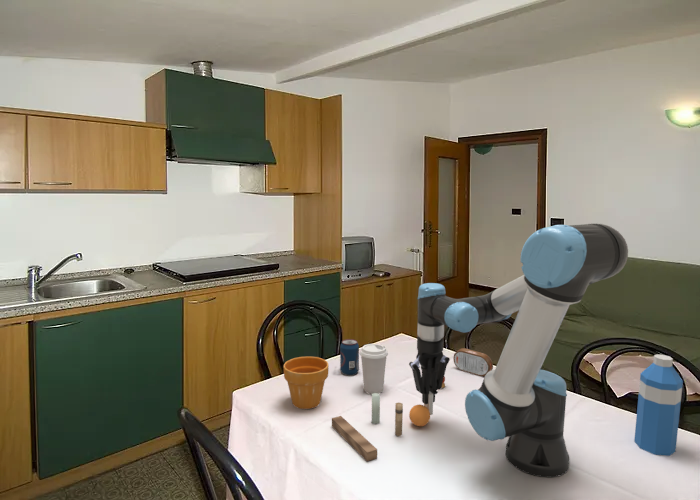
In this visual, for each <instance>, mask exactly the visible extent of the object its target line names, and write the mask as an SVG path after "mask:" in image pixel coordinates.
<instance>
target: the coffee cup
mask: <svg viewBox="0 0 700 500" xmlns="http://www.w3.org/2000/svg"><path fill="white" fill-rule="evenodd" d="M388 355H389V353H388V350H387V348H386V346H385V345H382V344H379V343H368V344H364V345H363V346H362V348H361V349H360V350H359V356H361V366H362V367H361V369H362V370H361V371H362V379H363V380H362V381H363V391H364V392H365V393H367V394H370V395H372V394H373V393H379V394H381V393H383V391H384V385H385V384H384V383H385V374H386V366H387V365H386V363H387V357H388Z"/></svg>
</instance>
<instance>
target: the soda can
mask: <svg viewBox="0 0 700 500" xmlns="http://www.w3.org/2000/svg"><path fill="white" fill-rule="evenodd" d="M339 349H340V353H339V354H340V358H339V361H340V363H339V367H340V371H341V373H342V374H343V375H344V376H355V375H357V374H358V372H359V370H360V345H359V342H358V341H357V340H356V339H353V338H346V339H343V340H342V341H341V343H340V346H339Z"/></svg>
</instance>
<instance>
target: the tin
mask: <svg viewBox="0 0 700 500" xmlns="http://www.w3.org/2000/svg"><path fill="white" fill-rule="evenodd" d="M453 364H454V365H455V367H456V368H457V369H458V370H460V371H462V372H465V373H469V374H472V375H475V376H477V377H485V375H486V374H487V373H488V372H489V371H491V370H494V362H493V361H492V359H491V357H490V356H489V355H487V354H486V353H483V352H479V351H477V350H472V349H469V348H465V347H462V348H459V349H458V350H457V351H456V352H454V354H453Z"/></svg>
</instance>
